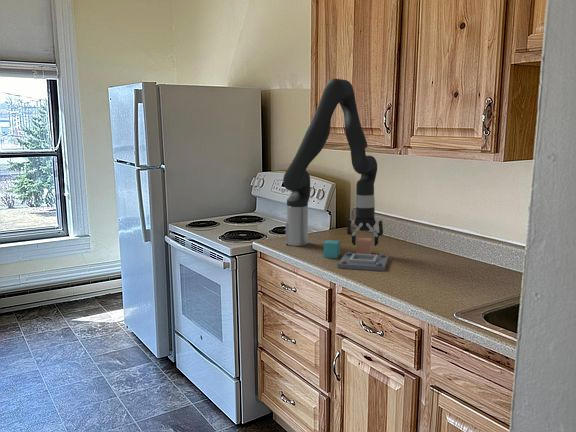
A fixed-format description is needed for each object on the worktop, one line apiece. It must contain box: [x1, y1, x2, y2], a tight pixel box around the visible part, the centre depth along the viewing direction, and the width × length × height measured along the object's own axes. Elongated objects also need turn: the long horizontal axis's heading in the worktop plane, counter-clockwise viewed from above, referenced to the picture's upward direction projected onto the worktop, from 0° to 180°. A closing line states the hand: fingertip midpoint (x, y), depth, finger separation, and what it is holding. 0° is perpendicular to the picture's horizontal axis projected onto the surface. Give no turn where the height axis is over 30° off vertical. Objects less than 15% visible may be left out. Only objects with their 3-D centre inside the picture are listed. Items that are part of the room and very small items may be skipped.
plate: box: [336, 251, 389, 272], centre depth 201 cm, size 17×17×2 cm
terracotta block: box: [355, 237, 373, 254], centre depth 216 cm, size 6×6×6 cm
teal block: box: [322, 239, 341, 259], centre depth 212 cm, size 6×6×6 cm
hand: (365, 245), depth 215 cm, fingers open, 8 cm apart
